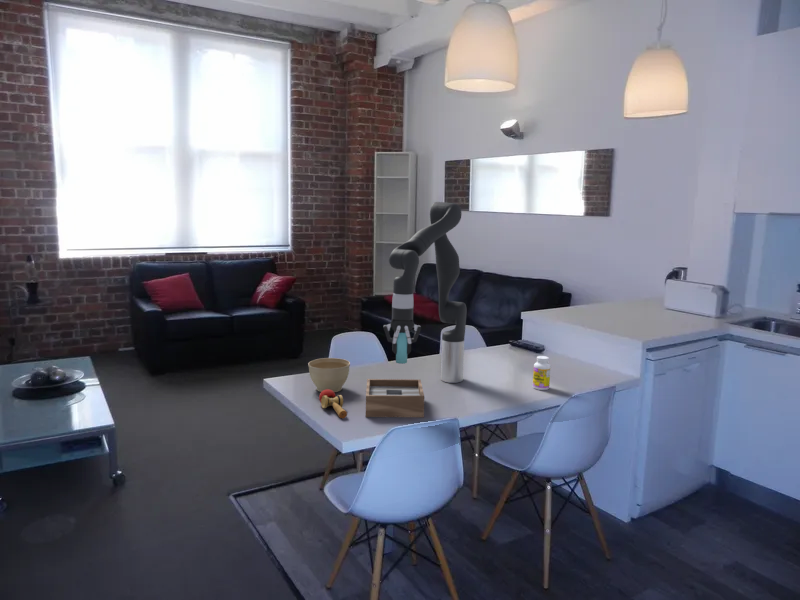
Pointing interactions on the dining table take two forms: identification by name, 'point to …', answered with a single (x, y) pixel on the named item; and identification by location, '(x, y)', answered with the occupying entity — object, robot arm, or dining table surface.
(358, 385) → the dining table surface
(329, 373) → the planter bowl
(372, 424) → the dining table surface
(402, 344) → the peg
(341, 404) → the kendama
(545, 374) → the supplement bottle
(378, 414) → the bore box
